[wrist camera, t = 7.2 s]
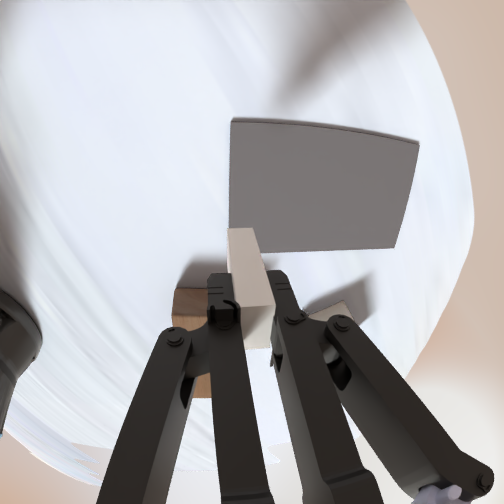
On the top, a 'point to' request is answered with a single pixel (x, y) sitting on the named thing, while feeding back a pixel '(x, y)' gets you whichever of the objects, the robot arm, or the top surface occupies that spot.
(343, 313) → the smooth beige box
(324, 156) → the charcoal mat
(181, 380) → the robot arm
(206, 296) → the wooden block
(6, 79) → the top surface
